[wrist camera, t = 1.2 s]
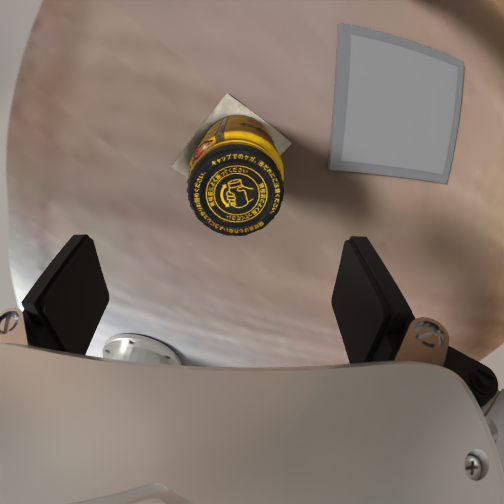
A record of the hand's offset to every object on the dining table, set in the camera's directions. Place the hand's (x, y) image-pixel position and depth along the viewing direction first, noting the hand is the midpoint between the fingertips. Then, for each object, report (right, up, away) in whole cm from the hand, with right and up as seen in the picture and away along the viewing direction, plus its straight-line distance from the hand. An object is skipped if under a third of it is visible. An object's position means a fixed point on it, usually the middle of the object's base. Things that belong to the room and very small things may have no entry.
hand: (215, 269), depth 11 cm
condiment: (-1, +10, +15) cm, 18 cm away
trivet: (+16, +14, +13) cm, 25 cm away
